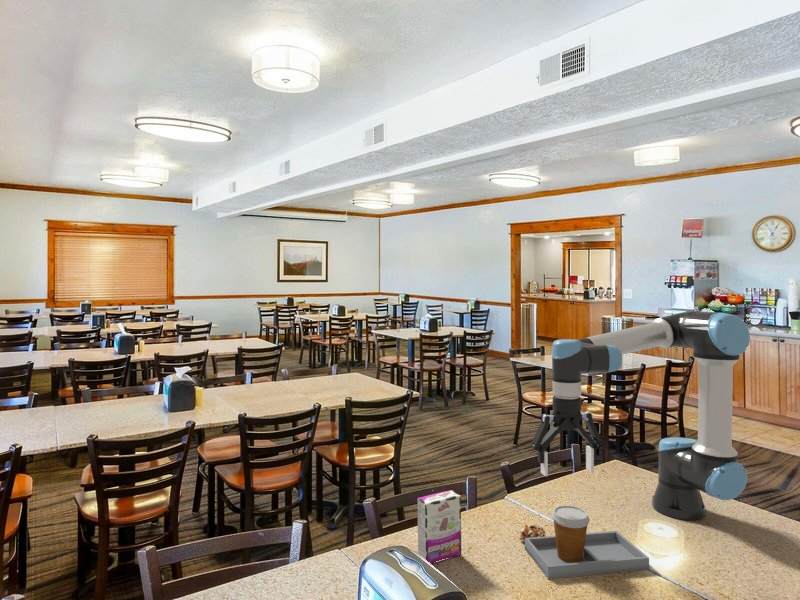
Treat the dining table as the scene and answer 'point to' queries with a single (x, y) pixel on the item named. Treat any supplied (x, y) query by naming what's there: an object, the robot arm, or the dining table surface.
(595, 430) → the robot arm
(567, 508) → the disposable coffee cup
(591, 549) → the gray divided tray
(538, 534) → the brown lumpy cluster
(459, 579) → the dining table surface
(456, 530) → the candy bar box
